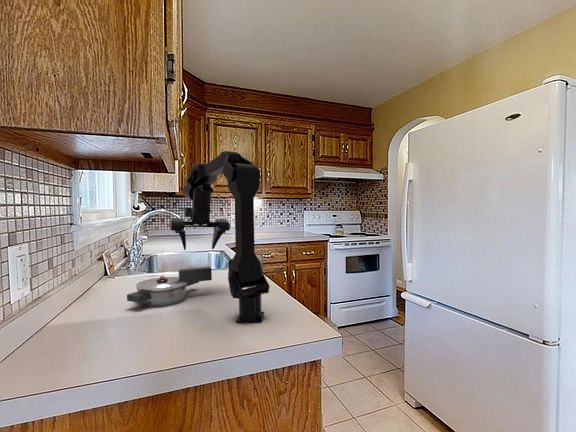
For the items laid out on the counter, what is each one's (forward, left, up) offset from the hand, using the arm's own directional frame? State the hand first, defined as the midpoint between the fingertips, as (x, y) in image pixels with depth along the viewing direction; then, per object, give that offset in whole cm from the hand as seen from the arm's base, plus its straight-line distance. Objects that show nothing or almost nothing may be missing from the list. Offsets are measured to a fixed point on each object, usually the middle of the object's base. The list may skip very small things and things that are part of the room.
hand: (198, 249), depth 103 cm
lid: (-6, +6, -10) cm, 13 cm away
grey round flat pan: (-6, +8, -15) cm, 18 cm away
